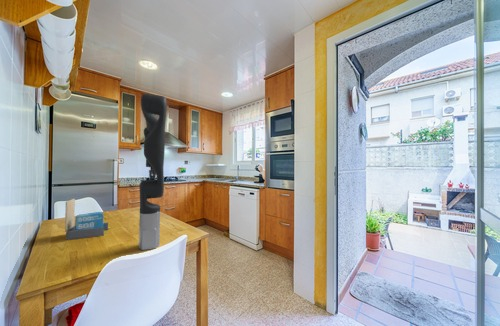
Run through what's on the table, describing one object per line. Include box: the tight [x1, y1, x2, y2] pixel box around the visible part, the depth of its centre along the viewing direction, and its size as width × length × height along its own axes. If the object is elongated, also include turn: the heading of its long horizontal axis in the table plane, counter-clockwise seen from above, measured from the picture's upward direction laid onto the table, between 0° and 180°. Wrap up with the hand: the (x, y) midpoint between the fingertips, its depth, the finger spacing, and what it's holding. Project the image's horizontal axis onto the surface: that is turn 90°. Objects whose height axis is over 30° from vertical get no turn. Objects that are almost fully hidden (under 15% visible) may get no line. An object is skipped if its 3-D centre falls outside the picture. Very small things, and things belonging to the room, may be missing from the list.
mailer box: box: [64, 198, 109, 241], centre depth 107 cm, size 10×17×20 cm, turn 116°
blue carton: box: [74, 211, 104, 230], centre depth 108 cm, size 12×4×12 cm, turn 136°
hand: (152, 187), depth 116 cm, fingers closed
